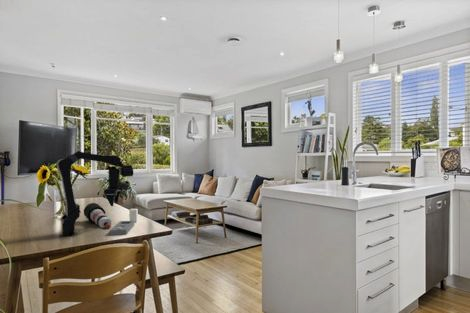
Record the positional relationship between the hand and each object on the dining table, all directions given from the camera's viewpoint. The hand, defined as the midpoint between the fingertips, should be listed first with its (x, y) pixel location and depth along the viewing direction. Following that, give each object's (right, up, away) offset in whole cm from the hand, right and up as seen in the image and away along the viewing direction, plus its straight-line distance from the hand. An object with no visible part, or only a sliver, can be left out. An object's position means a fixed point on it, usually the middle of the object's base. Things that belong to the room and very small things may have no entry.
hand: (114, 204), depth 172 cm
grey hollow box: (+8, -13, -9) cm, 18 cm away
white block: (+8, -12, +9) cm, 17 cm away
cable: (-11, -13, +6) cm, 18 cm away
